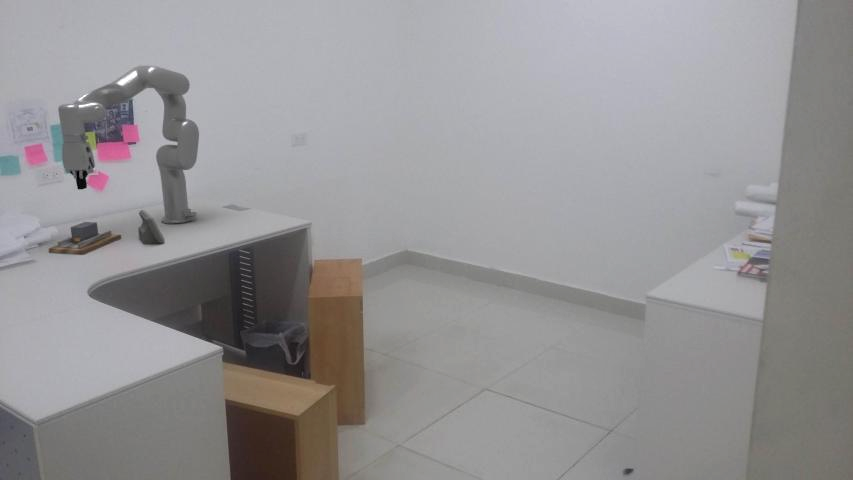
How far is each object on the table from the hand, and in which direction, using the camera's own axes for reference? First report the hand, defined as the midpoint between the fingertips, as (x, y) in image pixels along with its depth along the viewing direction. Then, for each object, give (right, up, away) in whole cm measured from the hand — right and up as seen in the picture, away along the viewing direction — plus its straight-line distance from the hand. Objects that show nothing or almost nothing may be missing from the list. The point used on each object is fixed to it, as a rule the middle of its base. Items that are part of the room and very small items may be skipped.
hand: (82, 188), depth 269 cm
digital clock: (+23, -19, +8) cm, 31 cm away
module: (+1, -19, +1) cm, 19 cm away
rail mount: (+1, -21, +1) cm, 21 cm away
